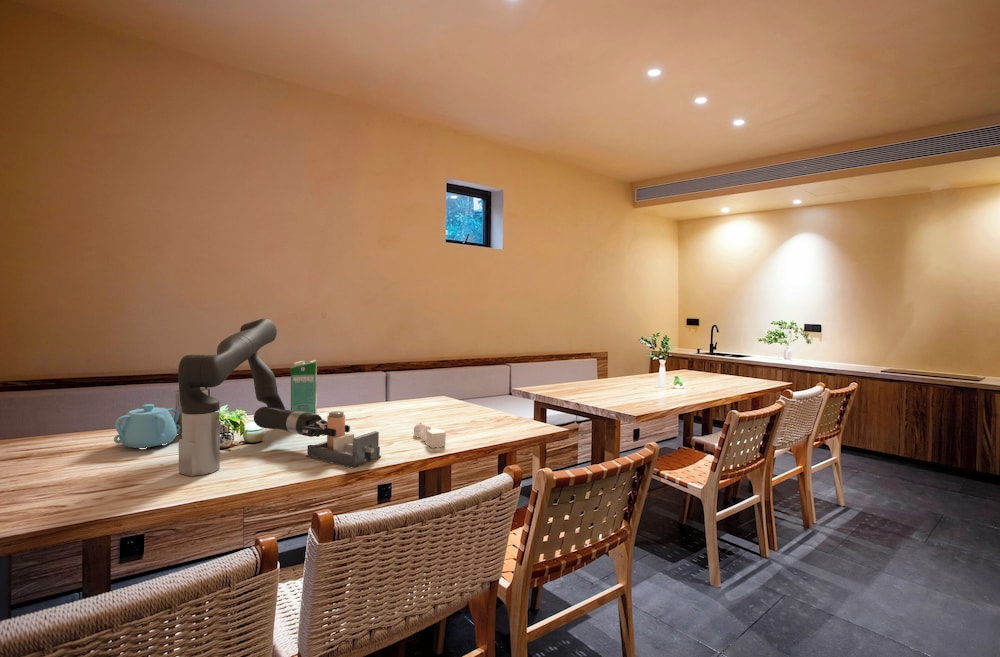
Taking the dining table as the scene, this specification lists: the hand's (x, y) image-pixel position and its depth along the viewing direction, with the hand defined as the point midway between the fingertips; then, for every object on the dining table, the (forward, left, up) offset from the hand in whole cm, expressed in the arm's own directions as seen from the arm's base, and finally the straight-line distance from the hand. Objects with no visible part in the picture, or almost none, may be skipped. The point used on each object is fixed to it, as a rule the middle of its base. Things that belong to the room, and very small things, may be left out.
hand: (342, 430), depth 158 cm
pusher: (0, -6, -7) cm, 10 cm away
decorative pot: (-24, +62, -9) cm, 67 cm away
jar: (0, +3, -7) cm, 8 cm away
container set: (+30, -12, -9) cm, 33 cm away
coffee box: (-8, +64, -8) cm, 65 cm away
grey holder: (0, -1, -8) cm, 8 cm away
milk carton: (+24, +44, -8) cm, 51 cm away
